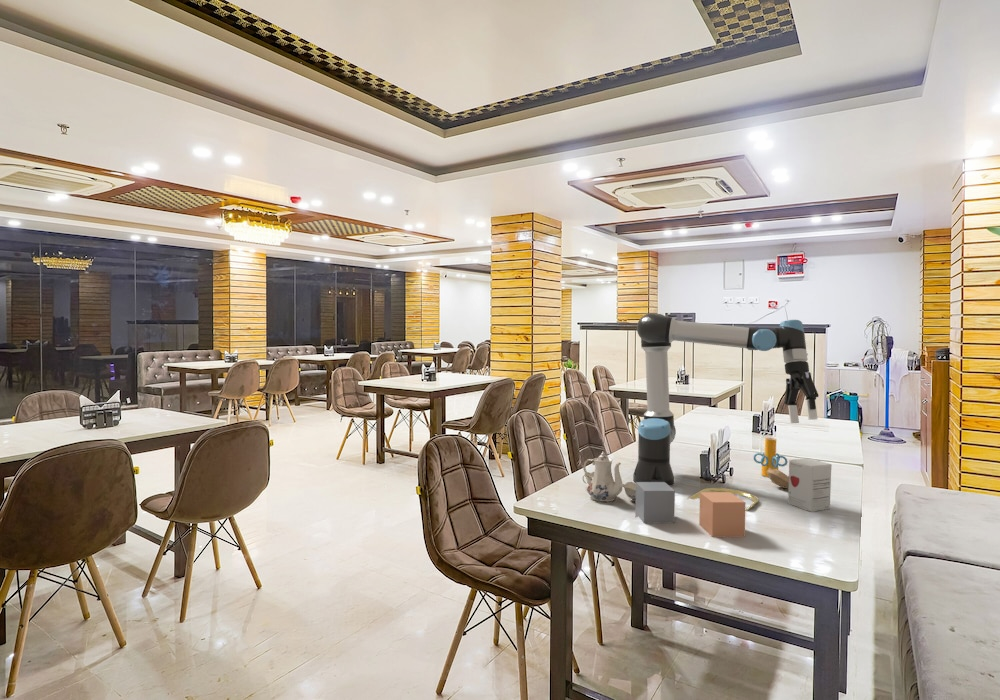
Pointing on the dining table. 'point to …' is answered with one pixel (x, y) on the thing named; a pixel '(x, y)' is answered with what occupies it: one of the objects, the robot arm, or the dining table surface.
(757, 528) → the dining table surface
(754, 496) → the gold curved band
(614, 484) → the chinaware
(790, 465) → the supplement box
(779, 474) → the pottery oil lamp
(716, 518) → the orange rectangular block
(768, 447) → the cylinder
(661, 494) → the gray block
